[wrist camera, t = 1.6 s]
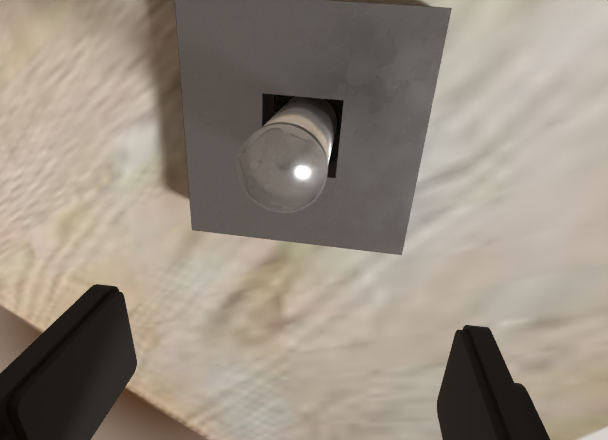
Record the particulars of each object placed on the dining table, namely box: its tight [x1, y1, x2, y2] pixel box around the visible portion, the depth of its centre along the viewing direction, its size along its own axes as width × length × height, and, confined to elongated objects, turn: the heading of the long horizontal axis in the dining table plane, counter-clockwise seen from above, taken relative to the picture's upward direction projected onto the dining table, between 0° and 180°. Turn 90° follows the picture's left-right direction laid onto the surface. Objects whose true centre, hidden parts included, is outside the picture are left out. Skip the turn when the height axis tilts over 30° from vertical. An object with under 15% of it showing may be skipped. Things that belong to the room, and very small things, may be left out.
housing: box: [175, 0, 452, 255], centre depth 28 cm, size 16×16×4 cm
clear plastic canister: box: [237, 96, 337, 213], centre depth 25 cm, size 5×5×11 cm
